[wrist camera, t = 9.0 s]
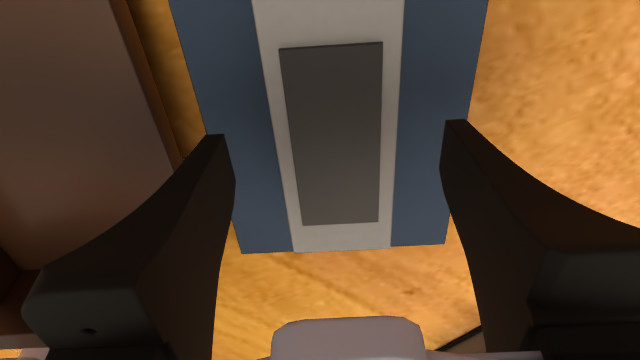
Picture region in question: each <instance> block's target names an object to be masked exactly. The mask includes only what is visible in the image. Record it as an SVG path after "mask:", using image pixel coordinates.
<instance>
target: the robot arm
mask: <svg viewBox="0 0 640 360" xmlns="http://www.w3.org/2000/svg"><path fill="white" fill-rule="evenodd" d="M439 173H440V178H441V183H442V187H443V192H444V196H445V199H446V201H447V204H448V207H449V210H450V213H451V216H452V218H453V221H454V224H455V226H456V229H457V232H458V235H459V237H460V240H461V243H462V246H463V248H464V252H465V255H466V258H467V262H468V266H469V270H470V275H471V279H472V283H473V287H474V292H475V297H476V301H477V306H478V310H479V316H480V321H481V326H482V331H483V336H484V341H485V347H486V353H476V354H454V353H447V352H440V351H433V350H425V346H424V340H423V335H422V332H421V330H420V327H419V325H417V324H415V323H413V322H411V321H410V320H408V319H406V318H404V317H395V316H368V317H347V318H326V319H305V320H299V321H294V322H289V323H287V324H285V325H284V326H282V327H281V328H279V329H278V330H276V331H275V332H274V334H273V338H272V342H271V356H270V357H266V358H261V359H257V360H640V228H637V227H635V226H632V225H629V224H626V223H623V222H621V221H618V220H615V219H613V218H610V217H608V216H606V215H603V214H601V213H599V212H596V211H594V210H592V209H590V208H588V207H586V206H583V205H581V204H579V203H577V202H575V201H574V200H572V199H570V198H568V197H566V196H564V195H562V194H560V193H559V192H557V191H555V190H553V189H552V188H550V187H549V186H547V185H545V184H544V183H542V182H541V181H539V180H538V179H536V178H534V177H533V176H532V175H530V174H529V173H527V172H526V171H525V170H523V169H522V168H521V167H519V166H518V165H517V164H515V163H514V162H513V161H511V160H510V159H509V158H508V157H507V156H505V155H504V154H503V153H502V152H501V151H499V150H498V149H497V148H496V147H495V146H494V145H493V144H491V143H490V142H489V141H488V140H487V139H486V138H485V137H484V136H483V135H482V134H481V133H480V132H478V131H477V130H476V129H475V128H474V127H473V126H472V125H471V124H470V123H469V122H468V121H467V120H466V119H451V120H445V126H444V134H443V141H442V148H441V155H440V162H439ZM235 188H236V178H235V174H234V170H233V166H232V162H231V159H230V155H229V151H228V147H227V143H226V139H225V135H224V134H210V135H205V136H204V138H203V139H202V140H201V141H200V142H199V143H198V145H197V146H196V147H195V148H194V149H193V151H192V152H191V153H190V154H189V155H188V157H187V158H186V159H185V160H184V161H183V163H182V164H181V165H180V166H179V167H178V168H177V170H176V171H175V172H174V173H173V174H172V175H171V176H170V177H169V178H168V179H167V180H166V181H165V182H164V184H163V185H162V186H161V187H160V188H159V189H158V190H157V191H156V192H155V193H154V194H153V195H151V196H150V197H149V198H148V199H147V200H146V201H145V202H144V203H142V204H141V205H140V206H139V207H138V208H137V209H135V210H134V211H133V212H132V213H130V214H129V215H128V216H126V217H125V218H123V219H122V220H121V221H119V222H118V223H117V224H115V225H114V226H112V227H111V228H110V229H108V230H107V231H105V232H104V233H102V234H100V235H99V236H97V237H96V238H94V239H92V240H91V241H89V242H87V243H86V244H84V245H82V246H81V247H79V248H77V249H75V250H73V251H71V252H69V253H67V254H66V255H64V256H62V257H60V258H58V259H56V260H54V261H52V262H50V263H48V264H46V265H44V267H43V268H42V270H41V272H40V274H39V275H38V277H37V279H36V281H35V282H34V284H33V286H32V288H31V290H30V292H29V294H28V296H27V297H26V299H25V301H24V303H23V305H22V308H21V314H22V318H23V319H24V321H25V322H26V324H27V325H28V327H29V328H30V329H31V330H32V331H33V332H34V333H35V334H36V335H37V336H38V337H39V338H40V339H41V340H42V341H43V343H44V344H45V345H46V346H47V347H48V348H24V349H22V351H21V353H20V355H19V357H18V358H5V359H0V360H212V344H213V331H214V318H215V308H216V297H217V288H218V279H219V271H220V266H221V260H222V256H223V252H224V247H225V243H226V239H227V234H228V230H229V226H230V221H231V217H232V212H233V208H234V199H235Z"/></svg>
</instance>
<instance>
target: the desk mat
mask: <svg viewBox="0 0 640 360" xmlns="http://www.w3.org/2000/svg"><path fill="white" fill-rule="evenodd" d="M488 1H489V0H404V18H403V36H402V53H401V71H400V88H399V106H398V124H397V141H396V159H395V176H394V194H393V211H392V229H391V247H394V246H415V245H435V244H445V239H446V233H447V228H448V222H449V217H450V210H449V207H448V204H447V201H446V199H445V196H444V192H443V187H442V183H441V178H440V173H439V162H440V155H441V148H442V141H443V134H444V126H445V120H451V119H466V120H467V117H468V112H469V106H470V100H471V95H472V89H473V84H474V78H475V73H476V67H477V62H478V56H479V51H480V45H481V40H482V34H483V28H484V23H485V17H486V12H487V6H488ZM168 2H169V5H170V8H171V12H172V15H173V19H174V22H175V26H176V29H177V33H178V36H179V39H180V43H181V46H182V50H183V53H184V57H185V60H186V64H187V67H188V70H189V74H190V77H191V81H192V84H193V88H194V91H195V95H196V98H197V101H198V105H199V108H200V112H201V115H202V119H203V122H204V126H205V129H206V132H207V135H210V134H224V135H225V139H226V143H227V147H228V151H229V155H230V159H231V162H232V166H233V170H234V174H235V178H236V188H235V199H234V208H233V212H232V217H231V219H232V222H233V225H234V229H235V232H236V236H237V239H238V243H239V246H240V250H241V253H242V254H252V253H272V252H292V251H293V246H292V240H291V234H290V228H289V222H288V216H287V210H286V204H285V198H284V192H283V186H282V180H281V174H280V168H279V163H278V157H277V151H276V145H275V139H274V133H273V127H272V121H271V115H270V109H269V103H268V97H267V91H266V85H265V79H264V73H263V68H262V62H261V56H260V50H259V44H258V38H257V32H256V26H255V20H254V14H253V8H252V2H251V0H168Z"/></svg>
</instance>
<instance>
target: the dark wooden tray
mask: <svg viewBox="0 0 640 360" xmlns="http://www.w3.org/2000/svg"><path fill="white" fill-rule="evenodd" d="M182 163H183V161H182V158H181V155H180V152H179V150H178V147H177V144H176V141H175V138H174V135H173V133H172V130H171V127H170V124H169V121H168V118H167V116H166V113H165V110H164V107H163V104H162V101H161V99H160V96H159V93H158V90H157V87H156V84H155V82H154V79H153V76H152V73H151V70H150V67H149V65H148V62H147V59H146V56H145V53H144V50H143V47H142V45H141V42H140V39H139V36H138V33H137V30H136V28H135V25H134V22H133V19H132V16H131V13H130V11H129V8H128V5H127V2H126V0H0V349H24V348H48V347H47V346H46V345H45V344H44V343H43V341H42V340H41V339H40V338H39V337H38V336H37V335H36V334H35V333H34V332H33V331H32V330H31V329H30V328H29V327H28V325H27V324H26V322H25V321H24V319H23V318H22V314H21V308H22V305H23V303H24V301H25V299H26V297H27V296H28V294H29V292H30V290H31V288H32V286H33V284H34V282H35V281H36V279H37V277H38V275H39V274H40V272H41V270H42V268H43V267H44V265H46V264H48V263H50V262H52V261H54V260H56V259H58V258H60V257H62V256H64V255H66V254H67V253H69V252H71V251H73V250H75V249H77V248H79V247H81V246H82V245H84V244H86V243H87V242H89V241H91V240H92V239H94V238H96V237H97V236H99V235H100V234H102V233H104V232H105V231H107V230H108V229H110V228H111V227H112V226H114V225H115V224H117V223H118V222H119V221H121V220H122V219H123V218H125V217H126V216H128V215H129V214H130V213H132V212H133V211H134V210H135V209H137V208H138V207H139V206H140V205H141V204H142V203H144V202H145V201H146V200H147V199H148V198H149V197H150V196H151V195H153V194H154V193H155V192H156V191H157V190H158V189H159V188H160V187H161V186H162V185H163V184H164V182H165V181H166V180H167V179H168V178H169V177H170V176H171V175H172V174H173V173H174V172H175V171H176V170H177V168H178V167H179V166H180V165H181V164H182Z"/></svg>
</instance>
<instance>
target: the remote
mask: <svg viewBox="0 0 640 360" xmlns="http://www.w3.org/2000/svg"><path fill="white" fill-rule="evenodd" d="M251 2H252V8H253V14H254V20H255V26H256V32H257V38H258V44H259V50H260V56H261V62H262V68H263V73H264V79H265V85H266V91H267V97H268V103H269V109H270V115H271V121H272V127H273V133H274V139H275V145H276V151H277V157H278V163H279V168H280V174H281V180H282V186H283V192H284V198H285V204H286V210H287V216H288V222H289V228H290V234H291V240H292V246H293V252H294V253H312V252H332V251H352V250H373V249H390V247H391V229H392V211H393V194H394V176H395V159H396V141H397V124H398V106H399V88H400V71H401V53H402V36H403V18H404V0H251Z"/></svg>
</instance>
